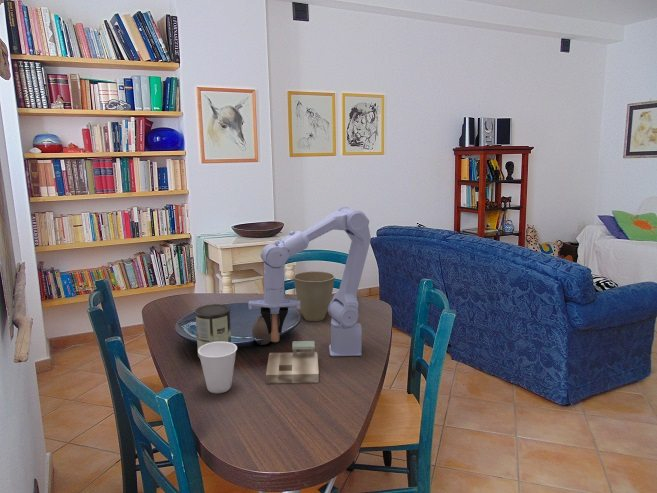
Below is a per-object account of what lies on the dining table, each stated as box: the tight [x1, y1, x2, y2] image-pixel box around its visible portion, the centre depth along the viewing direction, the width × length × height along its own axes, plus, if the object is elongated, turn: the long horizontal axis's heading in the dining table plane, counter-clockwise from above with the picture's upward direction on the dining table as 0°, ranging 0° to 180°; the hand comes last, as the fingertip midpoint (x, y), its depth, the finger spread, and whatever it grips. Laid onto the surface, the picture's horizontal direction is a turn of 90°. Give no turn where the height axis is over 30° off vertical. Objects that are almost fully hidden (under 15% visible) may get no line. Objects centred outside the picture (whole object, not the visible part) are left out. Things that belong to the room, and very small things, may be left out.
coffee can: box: [194, 303, 232, 359], centre depth 148 cm, size 10×10×14 cm
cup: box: [197, 341, 238, 394], centre depth 127 cm, size 10×10×11 cm
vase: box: [251, 314, 272, 346], centre depth 157 cm, size 7×7×9 cm
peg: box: [270, 312, 280, 343], centre depth 141 cm, size 2×2×8 cm
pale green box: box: [291, 340, 316, 356], centre depth 142 cm, size 6×4×6 cm, turn 93°
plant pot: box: [293, 270, 336, 322], centre depth 179 cm, size 15×15×16 cm
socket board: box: [265, 351, 320, 385], centre depth 138 cm, size 14×14×2 cm
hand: (275, 332), depth 141 cm, fingers closed on peg, 2 cm apart
